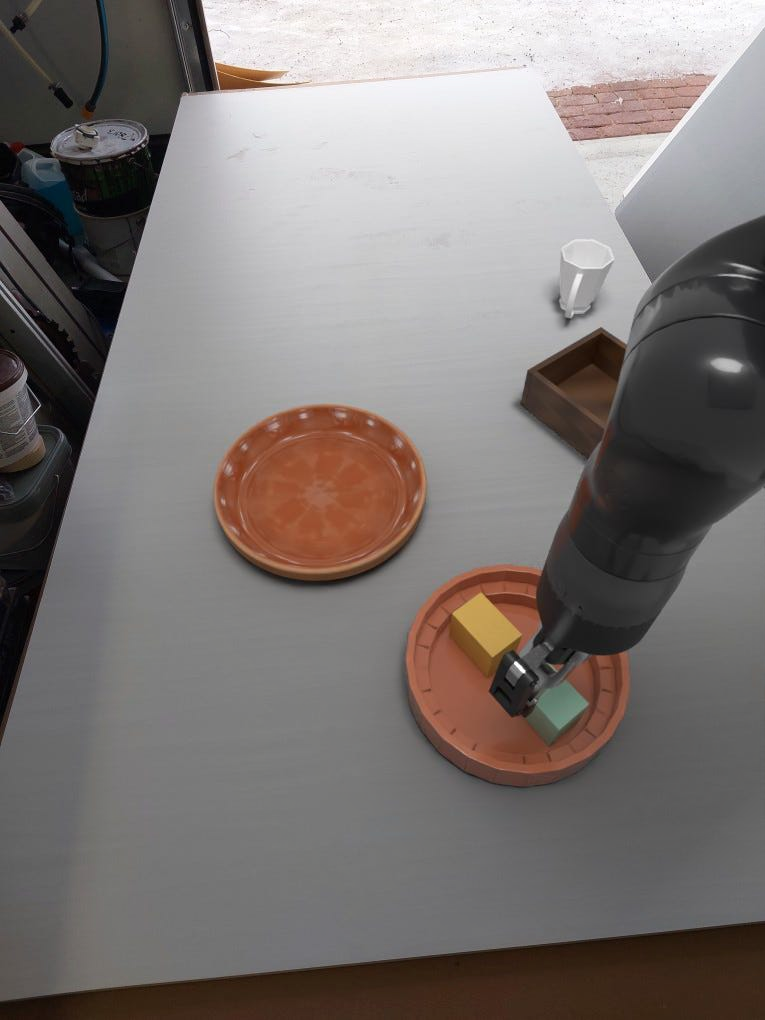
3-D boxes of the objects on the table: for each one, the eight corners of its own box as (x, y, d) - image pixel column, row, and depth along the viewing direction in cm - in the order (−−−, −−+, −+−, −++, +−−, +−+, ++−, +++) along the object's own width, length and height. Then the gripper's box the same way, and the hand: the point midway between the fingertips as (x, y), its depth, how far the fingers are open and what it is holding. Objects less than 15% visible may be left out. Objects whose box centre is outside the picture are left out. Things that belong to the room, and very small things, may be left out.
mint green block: (578, 722, 61) (589, 703, 58) (549, 747, 60) (559, 730, 56) (534, 675, 64) (542, 655, 60) (505, 698, 63) (512, 679, 59)
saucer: (467, 498, 77) (470, 477, 74) (315, 632, 67) (311, 614, 64) (328, 397, 86) (326, 375, 83) (178, 501, 77) (169, 481, 74)
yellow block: (515, 655, 65) (522, 634, 61) (487, 677, 64) (492, 657, 60) (476, 614, 68) (481, 591, 64) (448, 635, 66) (451, 613, 63)
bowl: (661, 697, 63) (677, 678, 59) (505, 837, 56) (513, 825, 53) (513, 555, 72) (519, 531, 69) (364, 661, 65) (362, 640, 62)
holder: (681, 426, 83) (698, 392, 78) (610, 476, 78) (623, 443, 74) (590, 361, 90) (601, 326, 85) (520, 404, 85) (527, 370, 81)
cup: (604, 295, 98) (620, 244, 91) (589, 339, 92) (603, 287, 86) (556, 284, 99) (567, 233, 93) (537, 326, 94) (548, 275, 87)
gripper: (573, 683, 38) (525, 767, 51) (732, 551, 43) (652, 658, 56) (481, 589, 42) (459, 690, 55) (638, 476, 47) (583, 594, 60)
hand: (557, 674), depth 55 cm, fingers open, 8 cm apart
